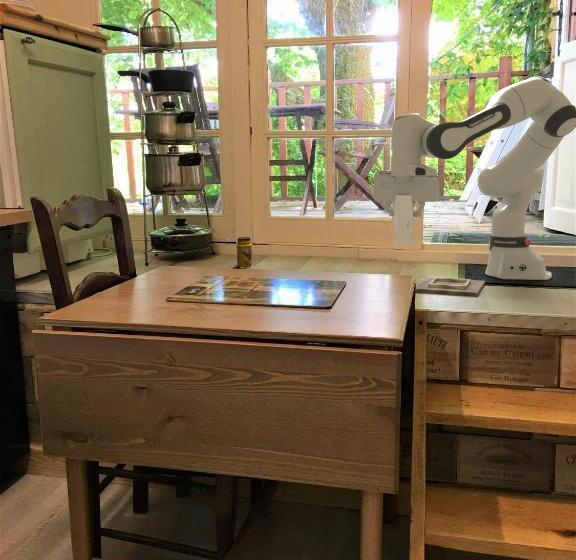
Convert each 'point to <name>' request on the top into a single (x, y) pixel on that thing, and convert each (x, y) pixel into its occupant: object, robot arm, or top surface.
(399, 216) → the beer glass
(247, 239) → the condiment
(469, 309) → the top surface
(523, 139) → the robot arm
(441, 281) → the walnut board
